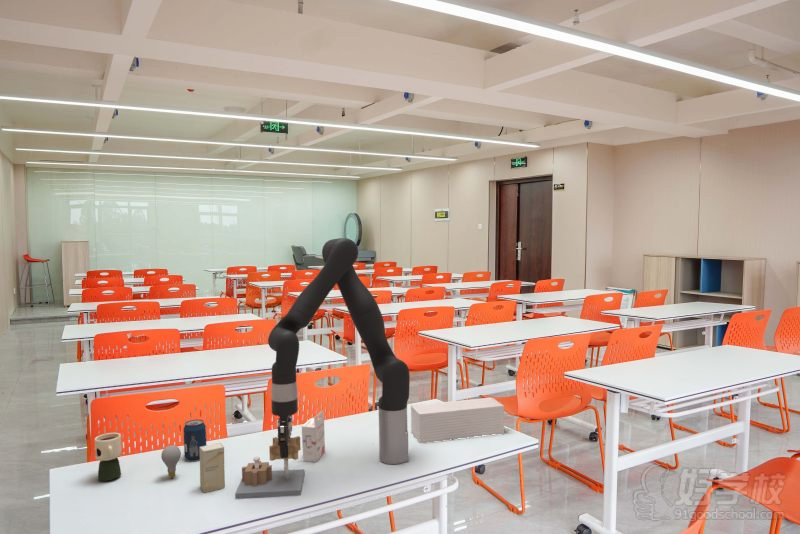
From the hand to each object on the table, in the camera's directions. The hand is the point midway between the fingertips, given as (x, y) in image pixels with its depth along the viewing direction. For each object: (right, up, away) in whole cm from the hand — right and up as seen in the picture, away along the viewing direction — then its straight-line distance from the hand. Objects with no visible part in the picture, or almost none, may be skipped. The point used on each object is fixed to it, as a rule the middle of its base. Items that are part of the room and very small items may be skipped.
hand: (285, 452), depth 164 cm
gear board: (-4, -9, -1) cm, 10 cm away
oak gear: (0, -1, 0) cm, 1 cm away
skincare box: (-21, -10, -1) cm, 23 cm away
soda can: (-34, -9, +21) cm, 41 cm away
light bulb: (-36, -10, +5) cm, 37 cm away
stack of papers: (+55, -7, +39) cm, 68 cm away
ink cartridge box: (+5, -8, +20) cm, 22 cm away
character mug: (-55, -10, +6) cm, 56 cm away
